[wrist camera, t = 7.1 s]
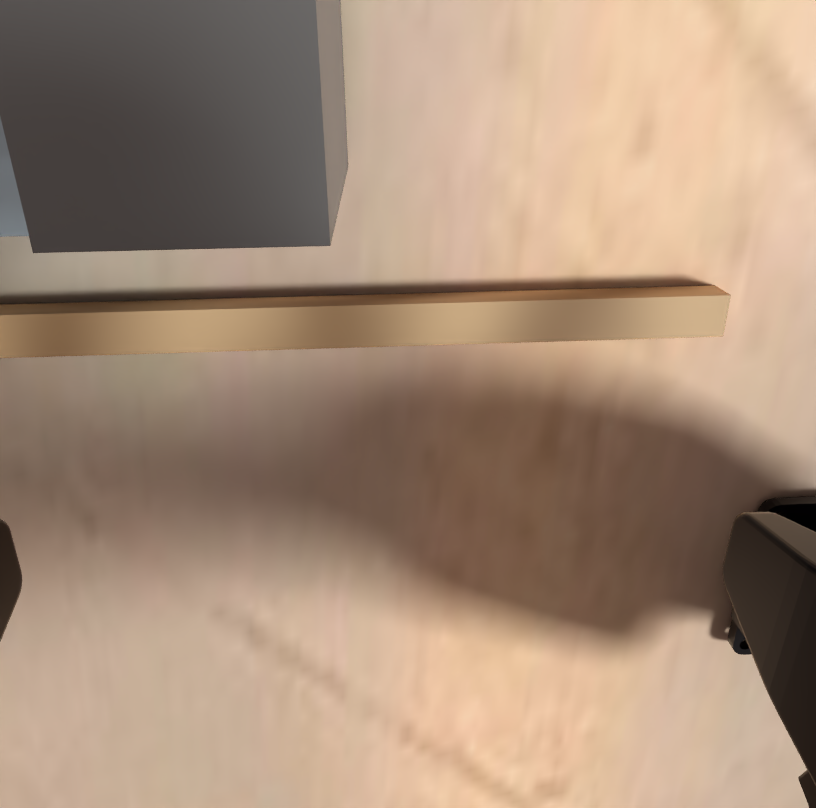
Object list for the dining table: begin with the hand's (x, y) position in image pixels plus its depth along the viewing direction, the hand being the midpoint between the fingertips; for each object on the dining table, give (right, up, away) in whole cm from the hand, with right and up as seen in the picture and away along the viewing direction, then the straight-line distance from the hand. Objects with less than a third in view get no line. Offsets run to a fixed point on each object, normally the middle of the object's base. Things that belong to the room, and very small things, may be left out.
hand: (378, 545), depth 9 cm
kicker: (-5, +10, +8) cm, 14 cm away
